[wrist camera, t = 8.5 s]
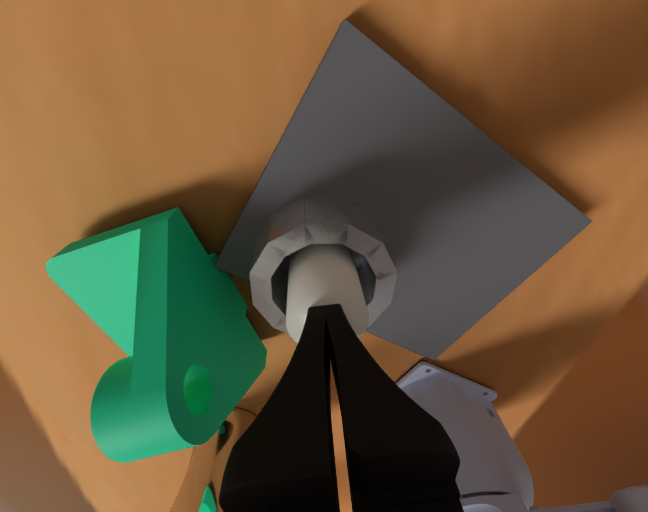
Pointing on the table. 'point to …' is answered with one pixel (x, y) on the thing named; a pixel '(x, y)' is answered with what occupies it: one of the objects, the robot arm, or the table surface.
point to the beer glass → (210, 466)
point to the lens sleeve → (319, 228)
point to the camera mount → (161, 335)
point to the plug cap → (324, 286)
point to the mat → (410, 194)
